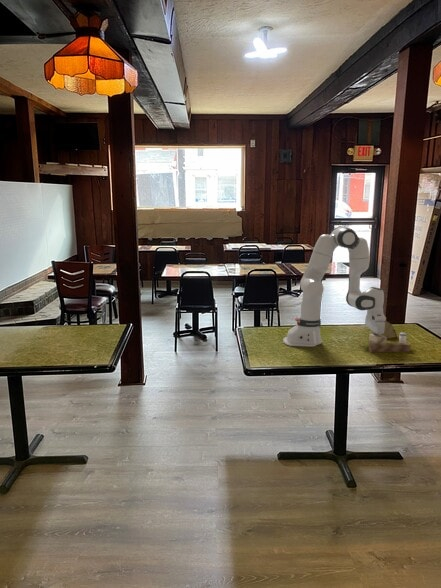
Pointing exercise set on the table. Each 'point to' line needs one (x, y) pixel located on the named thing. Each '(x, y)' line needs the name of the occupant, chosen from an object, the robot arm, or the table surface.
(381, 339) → the maple block
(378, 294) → the robot arm
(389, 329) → the rock
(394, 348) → the brown wooden bar
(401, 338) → the salt shaker
